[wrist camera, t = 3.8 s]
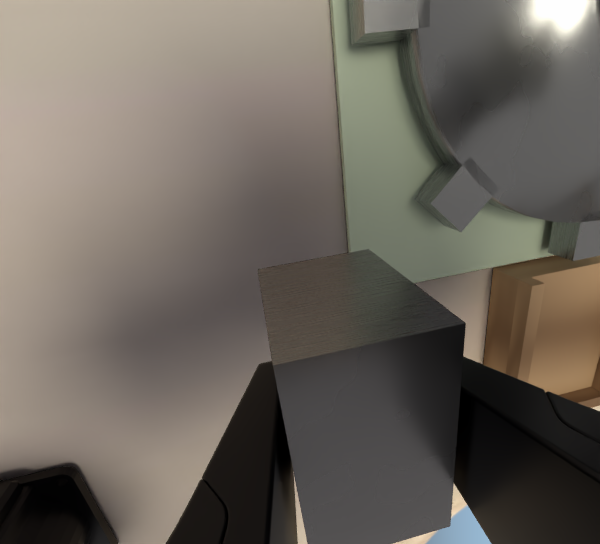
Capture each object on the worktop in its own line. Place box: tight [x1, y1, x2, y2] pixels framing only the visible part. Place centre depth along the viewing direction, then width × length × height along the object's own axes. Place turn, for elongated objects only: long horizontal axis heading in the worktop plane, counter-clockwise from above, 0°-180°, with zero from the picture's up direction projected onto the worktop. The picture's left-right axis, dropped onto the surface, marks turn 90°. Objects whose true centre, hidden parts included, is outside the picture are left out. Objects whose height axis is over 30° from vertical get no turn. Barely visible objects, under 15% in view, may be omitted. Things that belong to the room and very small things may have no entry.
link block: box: [258, 249, 466, 544], centre depth 8 cm, size 5×3×4 cm, turn 8°
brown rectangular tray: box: [483, 256, 600, 408], centre depth 16 cm, size 8×6×2 cm
